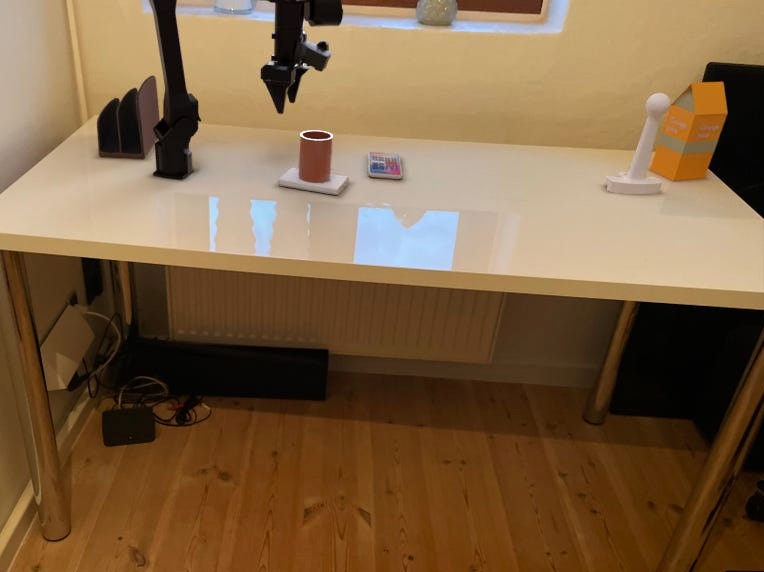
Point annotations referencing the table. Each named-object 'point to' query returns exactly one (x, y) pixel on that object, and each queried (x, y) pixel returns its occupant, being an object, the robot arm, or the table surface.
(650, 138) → the joystick
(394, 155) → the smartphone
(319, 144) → the cup
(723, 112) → the orange juice
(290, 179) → the hard drive
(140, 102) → the letter holder
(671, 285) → the table surface
